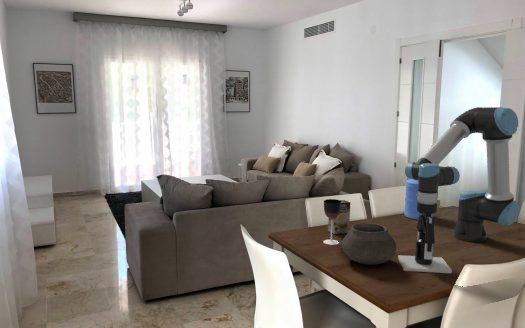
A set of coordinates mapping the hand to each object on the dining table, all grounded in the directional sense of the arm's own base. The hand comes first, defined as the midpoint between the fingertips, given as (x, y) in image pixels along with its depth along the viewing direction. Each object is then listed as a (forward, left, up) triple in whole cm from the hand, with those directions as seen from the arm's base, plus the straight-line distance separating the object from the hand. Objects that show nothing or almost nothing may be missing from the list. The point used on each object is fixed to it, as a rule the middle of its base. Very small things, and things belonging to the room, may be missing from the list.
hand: (424, 253), depth 173 cm
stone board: (0, 0, -5) cm, 5 cm away
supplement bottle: (0, 0, -4) cm, 4 cm away
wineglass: (+37, -24, -5) cm, 44 cm away
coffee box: (+33, -41, -5) cm, 53 cm away
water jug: (-14, -78, -5) cm, 79 cm away
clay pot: (+22, -1, -6) cm, 23 cm away
